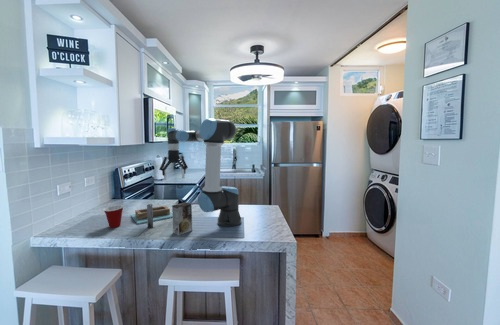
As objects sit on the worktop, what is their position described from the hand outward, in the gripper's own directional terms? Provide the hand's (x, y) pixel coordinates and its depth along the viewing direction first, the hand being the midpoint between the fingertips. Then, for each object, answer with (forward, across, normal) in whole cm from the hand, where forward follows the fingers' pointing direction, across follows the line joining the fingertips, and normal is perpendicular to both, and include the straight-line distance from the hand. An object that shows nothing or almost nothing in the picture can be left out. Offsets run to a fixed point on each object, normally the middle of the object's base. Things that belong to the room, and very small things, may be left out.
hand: (174, 179), depth 172 cm
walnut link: (+23, +16, +1) cm, 29 cm away
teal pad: (+24, +16, +2) cm, 29 cm away
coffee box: (+25, +12, +40) cm, 48 cm away
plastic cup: (+25, +40, +6) cm, 48 cm away
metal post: (+25, +24, +21) cm, 40 cm away
